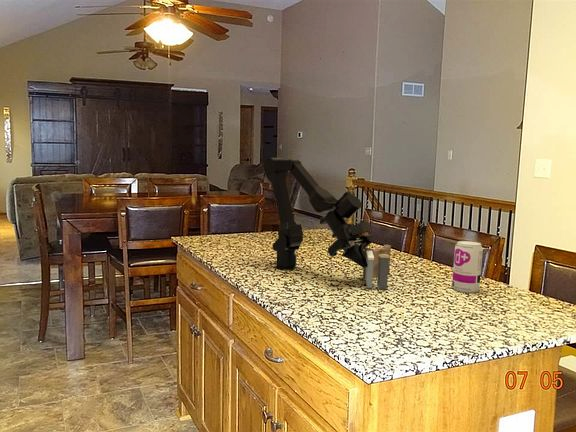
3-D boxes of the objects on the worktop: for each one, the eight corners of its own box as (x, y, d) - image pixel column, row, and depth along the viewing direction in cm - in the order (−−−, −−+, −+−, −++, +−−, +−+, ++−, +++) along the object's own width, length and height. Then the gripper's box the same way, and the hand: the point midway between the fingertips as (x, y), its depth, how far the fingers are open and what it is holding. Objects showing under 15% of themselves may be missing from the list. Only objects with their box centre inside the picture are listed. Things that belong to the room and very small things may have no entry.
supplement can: (465, 294, 164) (469, 245, 162) (446, 287, 171) (449, 241, 169) (484, 291, 168) (489, 244, 166) (465, 285, 175) (468, 240, 173)
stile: (376, 287, 168) (378, 253, 167) (385, 287, 168) (387, 254, 167) (378, 289, 165) (380, 255, 164) (387, 289, 166) (389, 255, 164)
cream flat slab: (364, 279, 177) (366, 250, 176) (370, 279, 177) (372, 250, 175) (366, 288, 165) (368, 257, 164) (372, 289, 165) (374, 257, 164)
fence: (368, 280, 177) (370, 250, 175) (360, 278, 178) (362, 249, 177) (391, 273, 187) (392, 245, 186) (383, 272, 189) (385, 244, 188)
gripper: (338, 214, 162) (366, 256, 157) (371, 209, 176) (398, 248, 171) (315, 235, 168) (342, 277, 163) (350, 229, 182) (375, 268, 177)
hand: (365, 267), depth 168 cm, fingers closed
